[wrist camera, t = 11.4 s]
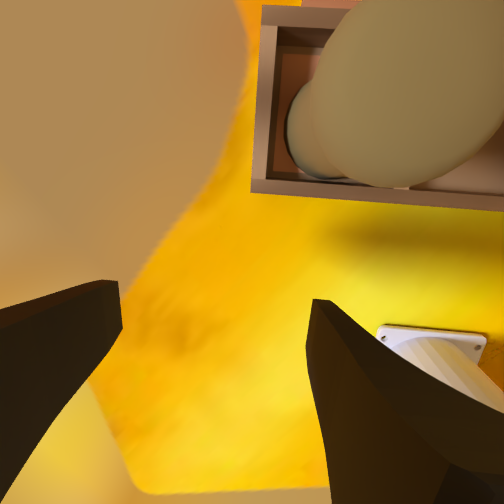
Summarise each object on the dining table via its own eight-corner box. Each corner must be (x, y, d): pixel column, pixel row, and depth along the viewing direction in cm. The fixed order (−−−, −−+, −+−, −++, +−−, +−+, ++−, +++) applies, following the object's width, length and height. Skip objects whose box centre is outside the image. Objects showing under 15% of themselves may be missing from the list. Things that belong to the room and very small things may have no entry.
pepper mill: (364, 48, 15) (566, -192, 5) (398, 151, 17) (607, 139, 6) (266, 105, 16) (257, 11, 6) (306, 196, 18) (355, 248, 8)
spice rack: (636, 216, 18) (706, 227, 15) (253, 187, 19) (250, 192, 16) (728, 42, 15) (838, 14, 12) (264, 19, 16) (263, -12, 13)
